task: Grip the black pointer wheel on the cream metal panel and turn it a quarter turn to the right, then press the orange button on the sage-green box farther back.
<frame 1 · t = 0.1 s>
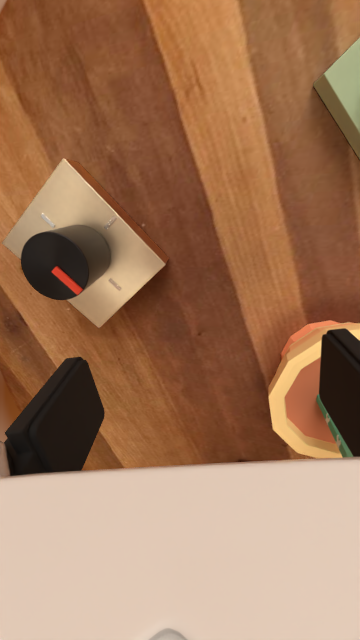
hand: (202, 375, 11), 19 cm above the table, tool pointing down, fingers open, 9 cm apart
dial panel: (94, 248, 28), on the table
knob: (69, 260, 23), point 6 cm above the table, hinge at 0.0°
potted cactus: (319, 354, 32), on the table
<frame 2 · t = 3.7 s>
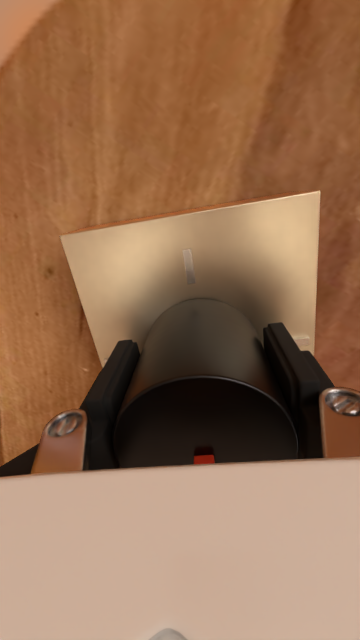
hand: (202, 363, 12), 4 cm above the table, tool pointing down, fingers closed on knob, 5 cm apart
dial panel: (201, 323, 15), on the table
knob: (202, 392, 10), point 6 cm above the table, hinge at -0.1°, touching gripper
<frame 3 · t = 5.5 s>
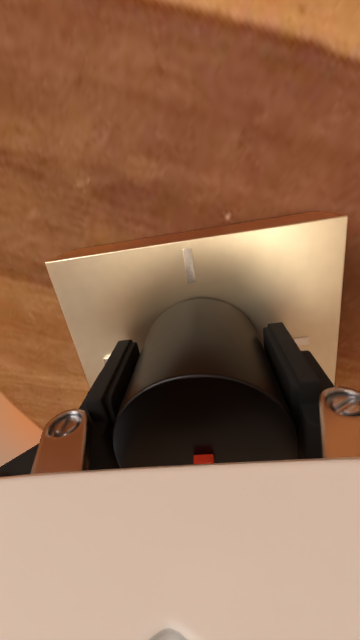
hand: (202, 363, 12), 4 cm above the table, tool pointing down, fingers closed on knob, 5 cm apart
dial panel: (201, 323, 15), on the table
knob: (202, 391, 10), point 6 cm above the table, hinge at -90.7°, touching gripper
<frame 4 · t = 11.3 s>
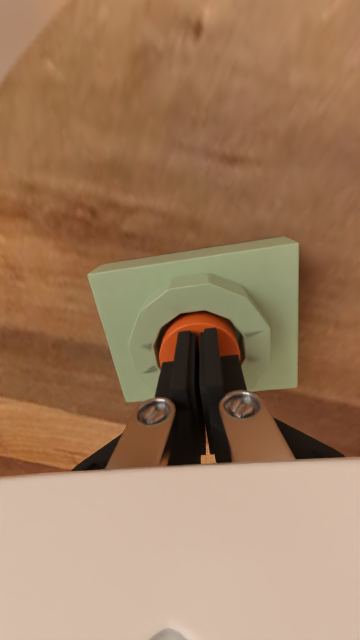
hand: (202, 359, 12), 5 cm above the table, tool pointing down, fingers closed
button: (199, 350, 13), point 4 cm above the table, slide at -0.7 cm, touching gripper
button box: (199, 318, 16), on the table
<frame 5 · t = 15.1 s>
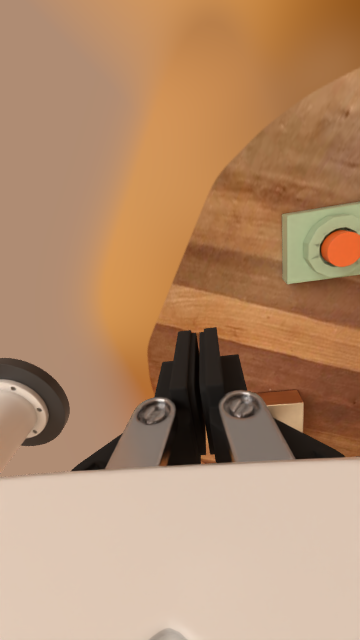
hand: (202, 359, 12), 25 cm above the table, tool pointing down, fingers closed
dial panel: (259, 416, 45), on the table
button: (341, 248, 29), point 4 cm above the table, slide at 0.1 cm
button box: (324, 242, 33), on the table
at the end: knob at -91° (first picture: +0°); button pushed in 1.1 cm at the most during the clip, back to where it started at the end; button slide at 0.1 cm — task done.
